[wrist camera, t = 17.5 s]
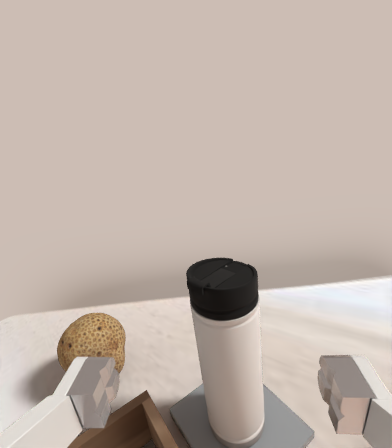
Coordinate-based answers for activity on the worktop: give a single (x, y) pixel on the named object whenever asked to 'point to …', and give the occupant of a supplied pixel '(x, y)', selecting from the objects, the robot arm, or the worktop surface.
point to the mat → (273, 429)
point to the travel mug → (229, 347)
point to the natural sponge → (92, 340)
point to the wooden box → (129, 428)
